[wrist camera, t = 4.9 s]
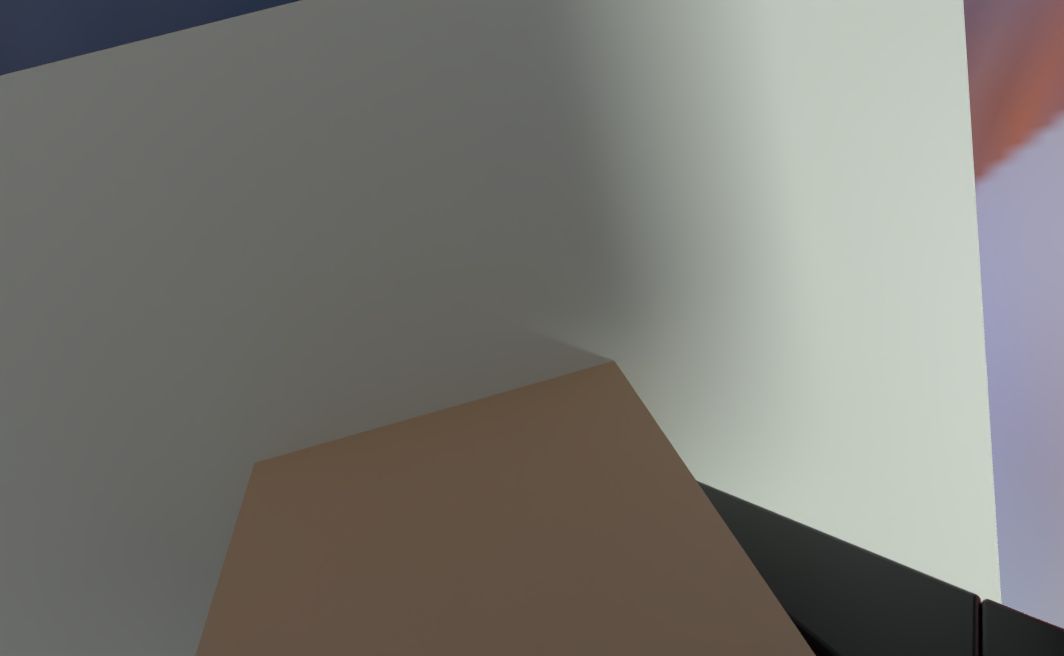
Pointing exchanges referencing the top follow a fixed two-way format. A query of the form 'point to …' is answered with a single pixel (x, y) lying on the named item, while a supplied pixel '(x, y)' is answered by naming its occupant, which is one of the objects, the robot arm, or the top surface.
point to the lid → (484, 325)
